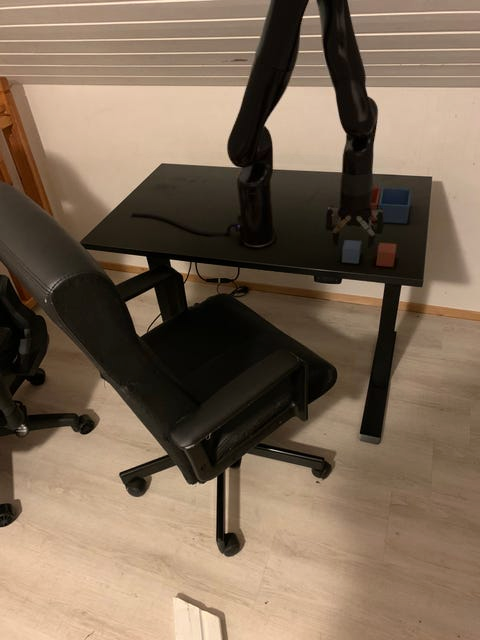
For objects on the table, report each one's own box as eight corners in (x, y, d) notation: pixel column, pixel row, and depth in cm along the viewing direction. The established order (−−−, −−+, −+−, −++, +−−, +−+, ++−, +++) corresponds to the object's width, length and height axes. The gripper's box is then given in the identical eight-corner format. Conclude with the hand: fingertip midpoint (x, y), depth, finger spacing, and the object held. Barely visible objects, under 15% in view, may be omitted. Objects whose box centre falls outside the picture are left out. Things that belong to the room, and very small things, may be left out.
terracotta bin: (346, 219, 143) (347, 202, 139) (351, 202, 150) (352, 186, 147) (375, 221, 140) (377, 204, 136) (379, 204, 148) (380, 187, 144)
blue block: (341, 262, 126) (342, 248, 123) (344, 253, 129) (344, 239, 126) (358, 263, 125) (359, 249, 122) (360, 254, 128) (361, 241, 125)
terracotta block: (376, 265, 123) (377, 251, 120) (377, 256, 126) (379, 242, 123) (393, 267, 122) (395, 253, 119) (394, 257, 125) (396, 243, 122)
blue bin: (376, 221, 140) (378, 204, 136) (380, 204, 148) (381, 187, 144) (406, 223, 137) (409, 206, 134) (409, 205, 145) (411, 189, 142)
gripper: (324, 193, 113) (323, 250, 123) (385, 195, 108) (379, 254, 119) (329, 179, 118) (328, 235, 128) (388, 181, 113) (382, 239, 124)
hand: (353, 244), depth 123 cm, fingers open, 8 cm apart
